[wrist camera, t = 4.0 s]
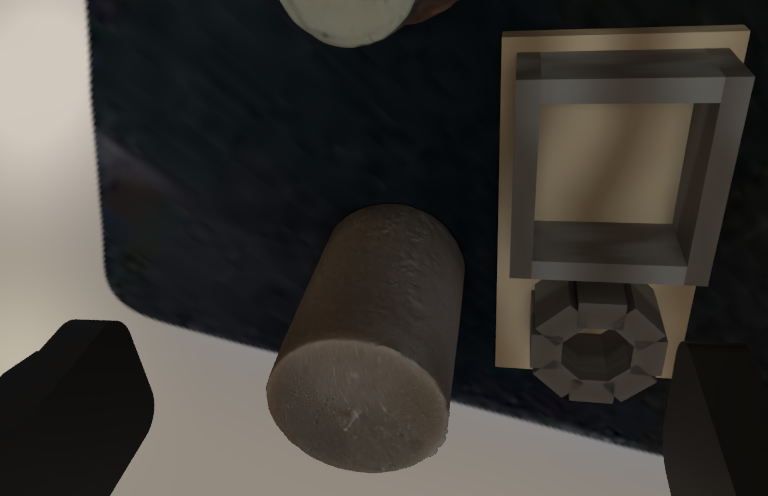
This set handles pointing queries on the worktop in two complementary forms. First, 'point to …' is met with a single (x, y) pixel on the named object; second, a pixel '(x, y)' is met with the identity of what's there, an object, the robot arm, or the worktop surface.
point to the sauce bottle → (359, 18)
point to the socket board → (611, 196)
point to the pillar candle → (373, 344)
